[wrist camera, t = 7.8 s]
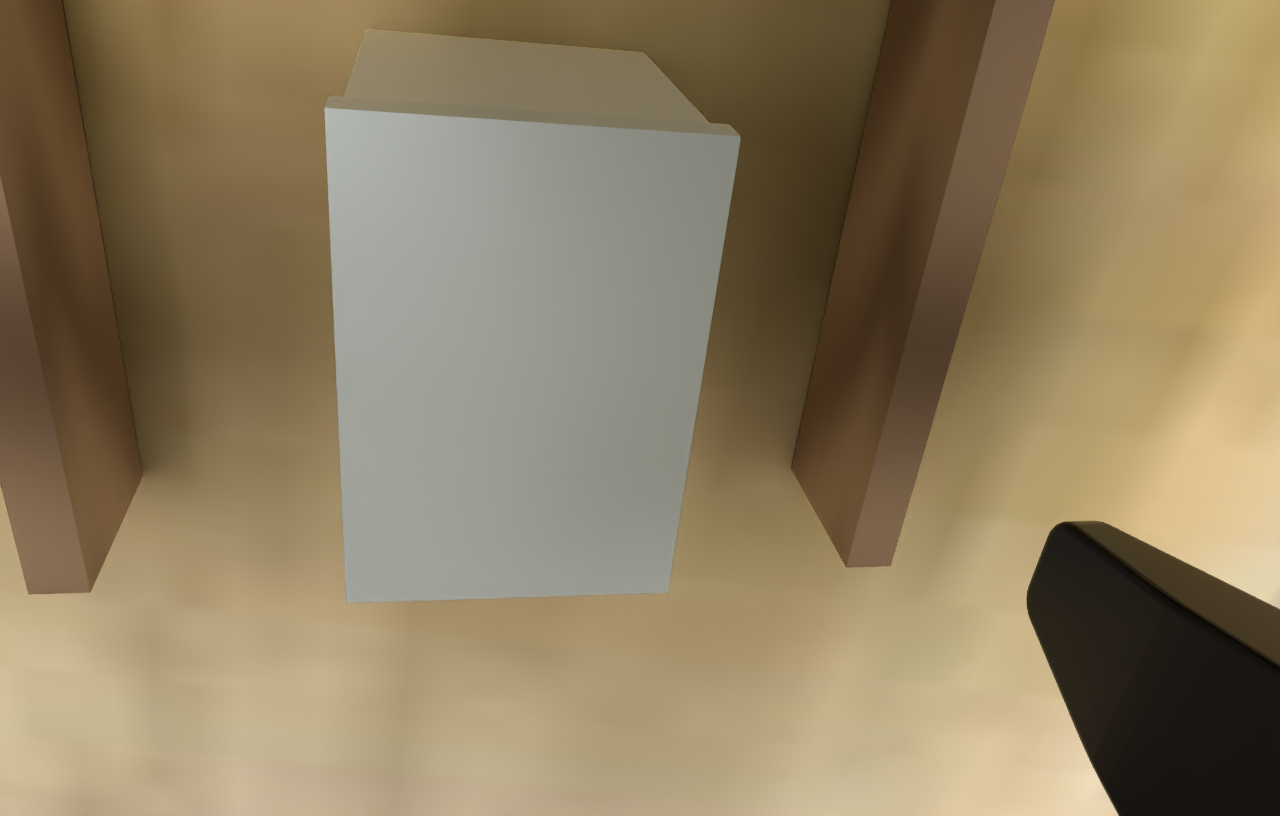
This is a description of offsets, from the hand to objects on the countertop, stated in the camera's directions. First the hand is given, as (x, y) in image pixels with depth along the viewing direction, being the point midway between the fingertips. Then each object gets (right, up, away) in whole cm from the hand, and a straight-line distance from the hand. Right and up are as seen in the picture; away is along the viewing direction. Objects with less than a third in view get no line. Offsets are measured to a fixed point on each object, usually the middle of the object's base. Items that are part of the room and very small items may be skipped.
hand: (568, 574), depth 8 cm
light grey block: (-2, +4, +8) cm, 9 cm away
